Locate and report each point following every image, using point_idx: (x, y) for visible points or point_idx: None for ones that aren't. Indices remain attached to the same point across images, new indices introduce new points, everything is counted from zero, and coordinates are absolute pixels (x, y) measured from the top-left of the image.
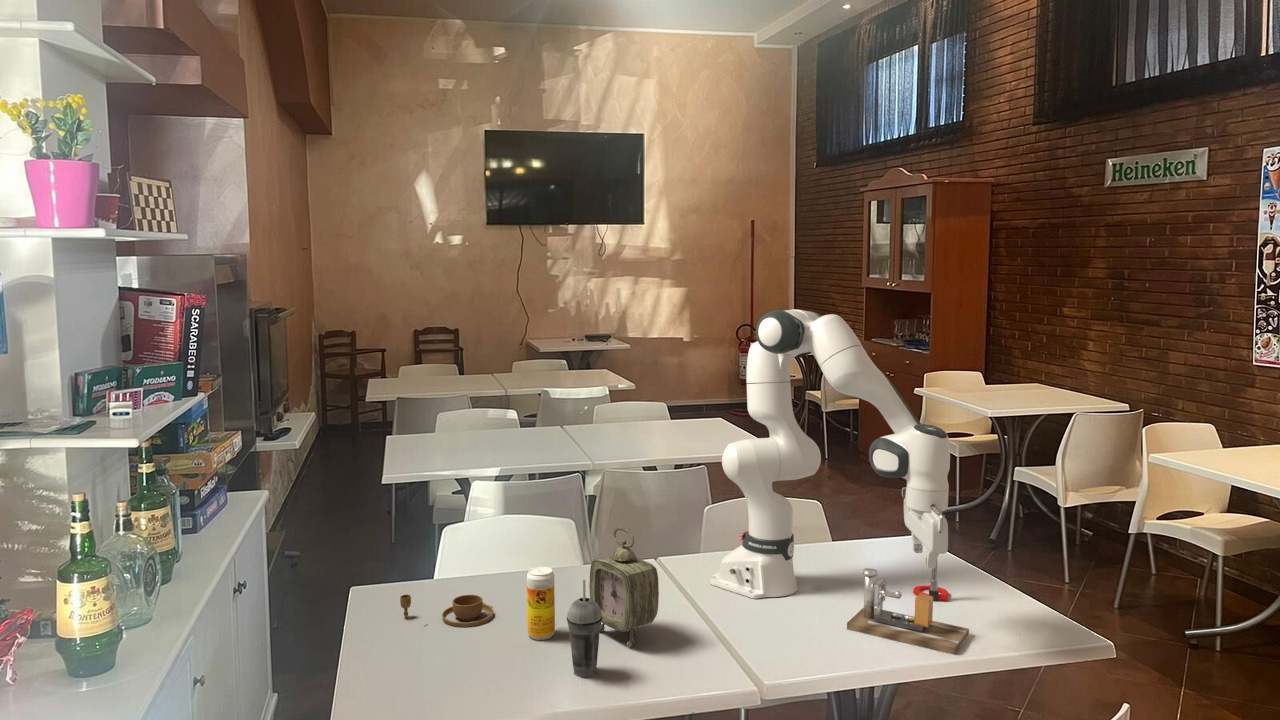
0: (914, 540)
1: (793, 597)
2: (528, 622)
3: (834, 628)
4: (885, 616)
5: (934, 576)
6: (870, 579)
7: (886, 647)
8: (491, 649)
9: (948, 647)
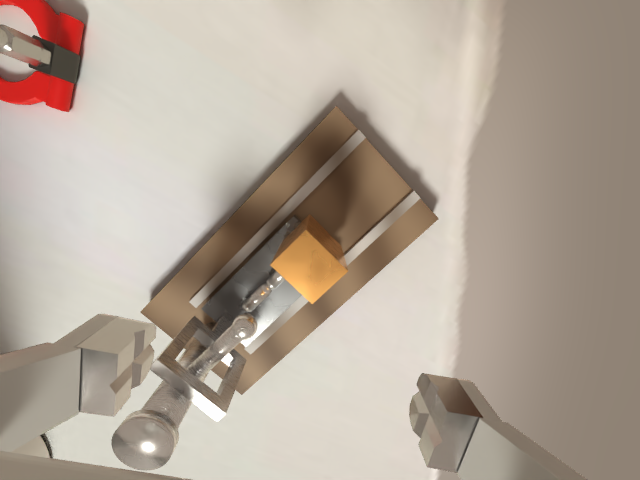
0: (30, 428)
1: None
2: None
3: (237, 404)
4: None
5: None
6: (177, 426)
7: (353, 344)
8: None
9: (425, 229)
